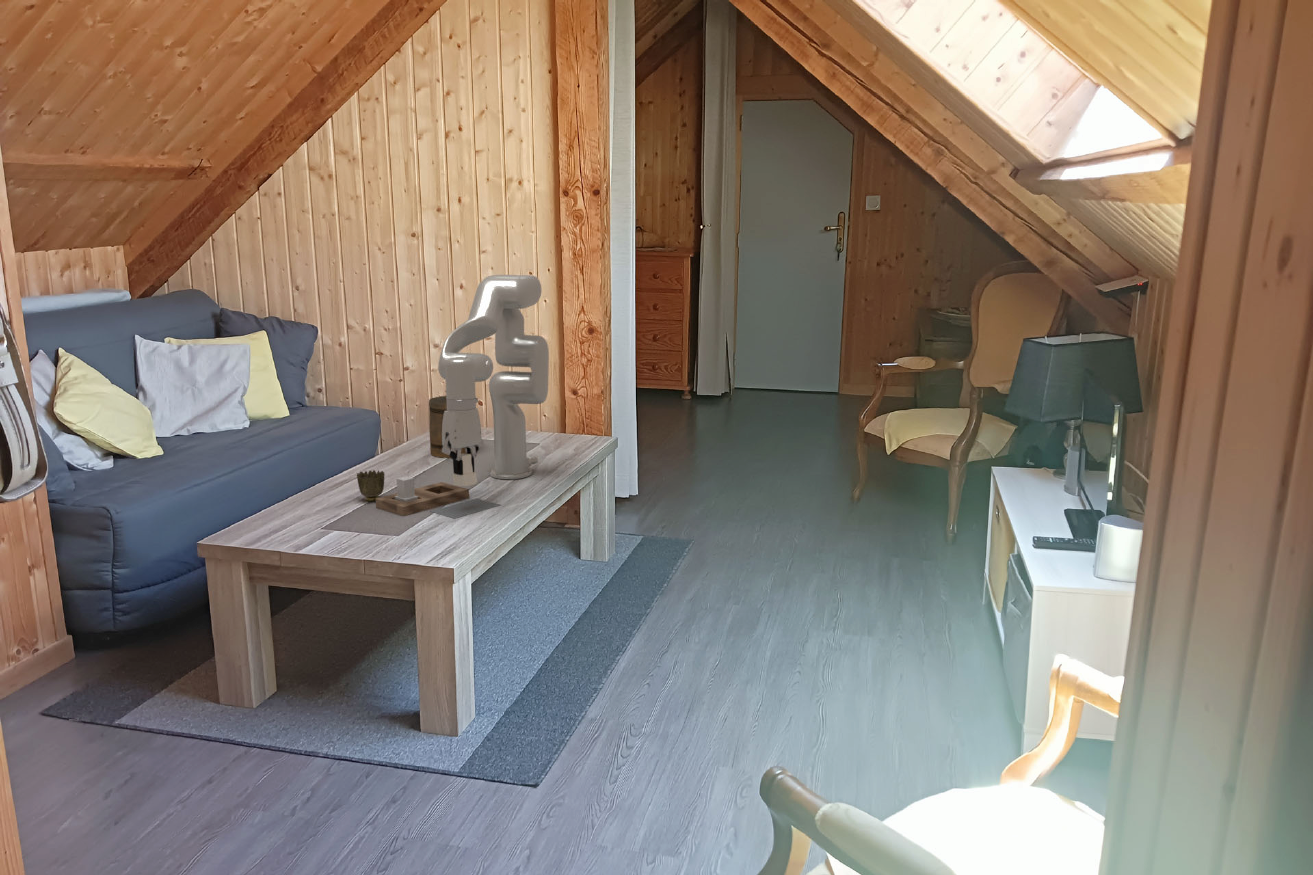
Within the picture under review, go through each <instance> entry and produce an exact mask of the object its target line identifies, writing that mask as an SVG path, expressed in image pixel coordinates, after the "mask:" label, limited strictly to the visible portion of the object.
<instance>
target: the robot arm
mask: <svg viewBox="0 0 1313 875" xmlns="http://www.w3.org/2000/svg"><path fill="white" fill-rule="evenodd" d="M541 297H542V284H541V281H540V280H539V278H538V277H536V275H533V274H532V275H531V274H530V275H529V274H493V275H492V274H491V275H488V276H486V277H485V278H483V279H482V280H481V281H480V283H478V285H477V288H476V291H475V294H474V298H473V301H472V304H471V308H470V311H469V315H468V318H467V320H466V321H464V322H463V323H461V324H460V325H459V326H457V327H456V328H454V330H452V332H451V333H450V334H448V335H447V337H446V338H445V340H444V343H443V344H442V348H441V352H440V355H439V359H438V373H439V375H440V377H441V379H443V380H445V391H446V392H445V396H446V399H447V411H444V416H443V423H442V445H443V448H442V452H443V453H445V454H448V455H449V456H450V457H451V458H450V459H451V460H452V467H453V468H452V469H453V474H458V475H463V461H462V460H461V449H462V448H465V450H466V454H471V462H472V468H473V472H475V457H477V453H478V451H479V450H480V448H481V447H483V445H484V444H485V443H484V441H483V438H482V425H481V418H480V414H479V409H478V408H477V403H479V399H478V397H476V383H478V382H481V383H482V382H485V381H487V380H488V379H489V381H488V382H489V383H488V390H489V391H488V392H489V396H490V399H491V400H490V401H491V405H492V414H493V416H492V417H493V440H494V441H493V443H494V468H492V469H491V470H490V474H489V475H490V476H491V477H492V478H495V479H500V480H517V479H524V478H528V477H530V476H531V475H532V474H533V470H532V468H531V467H530V466H531V465H537V464H538V463H539V459H538V457H536V456H535V457H531V458H529V457H527V432H526V431H527V430H526V429H527V428H526V425H527V421H526V416H525V412H524V411H523V409H522V408H521V406H519V405H520V404H522V405H541V404H543V403H545V401H546V400H547V399H548V393H549V370H550V368H549V366H550V365H549V364H550V352H549V345H548V342H547V340H546V339H545V337H543V336H541V335H536V334H534V335H533V334H525V317H524V315H523V313H522V311H521V309H527V308H530V307H532V306H534V305H536V304H538V302H539V300H540V299H541ZM494 335H495V336H494ZM492 336H494V347H495V348H494V355H495V361H496V362H497V364H498V365H500V366H503V367H509V368H530V371H519V370H518V371H516V370H515V371H514V370H511V371H510V370H509V371H507V370H505V371H504V370H503V371H498V372H496V373H493V371H494V363H493V361H492V358H491V357H490V356H489V355H487V354H484V353H479V352H478V353H477V352H476V353H474V352H472V353H471V352H461V351H462V350H463V349H464V348H466V347H468V346H469V345H472V344H473V343H476V342H479V341H482V340H485V339H488V338H490V337H492ZM492 374H493V375H492ZM450 447H451V450H450ZM470 448H471V449H470Z"/></svg>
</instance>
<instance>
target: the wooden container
mask: <svg viewBox="0 0 1313 875" xmlns="http://www.w3.org/2000/svg"><path fill="white" fill-rule="evenodd" d="M444 392H445V393H446V390H445V391H444ZM444 411H447V399H446V395H442V396H435V397H431V398H429V399H428V414H429V415H428V416H429V420H428V421H429V444H430V447H429V449H430V455H431V456H433V457H437V458H441V459H442V458H445V459H451V457H450V456H449V455H448V454H445V453H443V452H442V448H443V445H442V423H443V416H444ZM470 449H471V448H470ZM450 450H451V447H450ZM463 453H464V454H466V450H465V448H462V449H461V454H463Z"/></svg>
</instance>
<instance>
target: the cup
mask: <svg viewBox="0 0 1313 875" xmlns="http://www.w3.org/2000/svg"><path fill="white" fill-rule="evenodd" d="M385 477H386V476H385V472H384V471H383V470H381V471H380V470H379V469H378V471H375V469H374V470H369V471H368V472H367V470H365V471H364V472H362V471H359V472H357V473H356V479H357V485H358V490H359V492H360V494H361V495H362V496H364V497H365V501H366V502H376V498H380V495H381V494H383V492H384V487H385Z"/></svg>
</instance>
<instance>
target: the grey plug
mask: <svg viewBox="0 0 1313 875" xmlns="http://www.w3.org/2000/svg"><path fill="white" fill-rule="evenodd" d="M414 489H415V479H414V477H410V476H407V475H406V476H402V477H397V478H396V490H397V491H396V493H397V494H398V496H395V500H398V501H401V502H404V503H406V502H410V501H413V500H417V499H418V496H415V490H414Z"/></svg>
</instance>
